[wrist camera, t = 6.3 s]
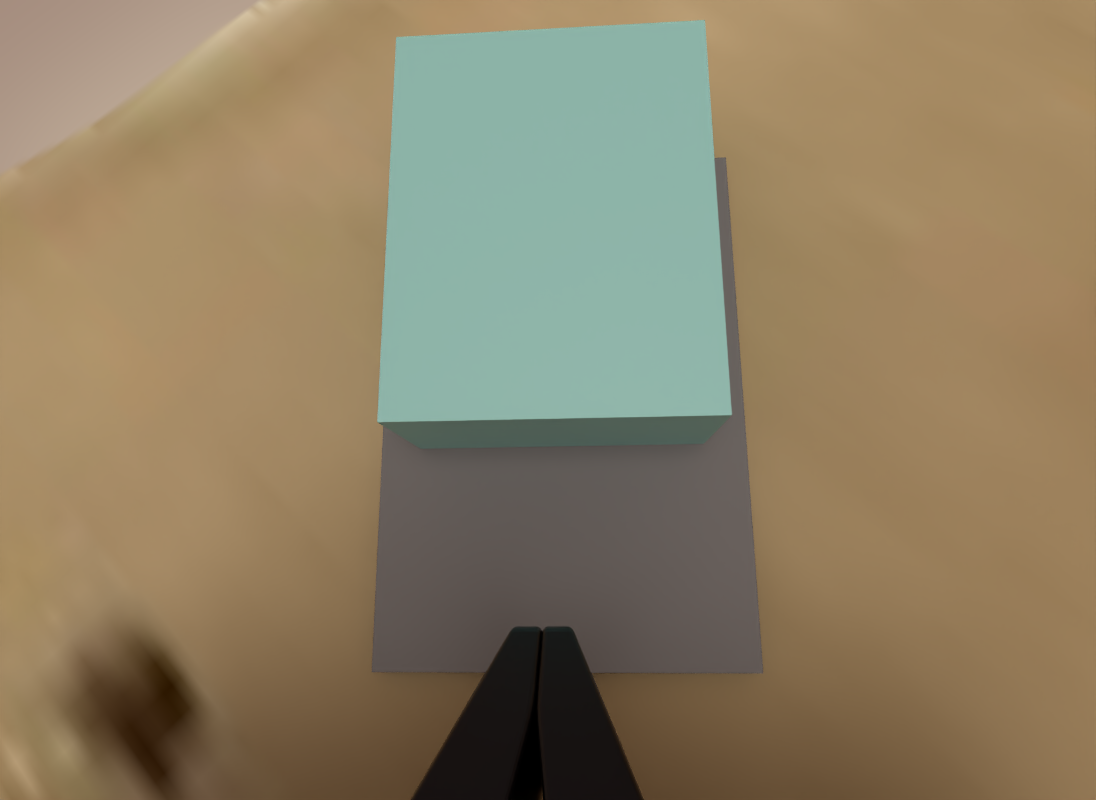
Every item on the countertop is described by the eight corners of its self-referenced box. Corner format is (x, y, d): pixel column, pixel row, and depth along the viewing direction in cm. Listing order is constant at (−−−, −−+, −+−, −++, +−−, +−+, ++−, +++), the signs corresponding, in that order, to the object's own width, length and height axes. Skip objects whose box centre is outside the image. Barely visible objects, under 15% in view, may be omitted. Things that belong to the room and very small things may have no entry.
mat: (758, 670, 16) (763, 673, 15) (376, 669, 16) (371, 672, 16) (722, 165, 19) (725, 157, 18) (399, 179, 19) (395, 171, 19)
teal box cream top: (732, 415, 13) (704, 12, 15) (377, 421, 14) (396, 29, 16) (703, 443, 17) (684, 111, 19) (420, 448, 17) (431, 123, 19)
